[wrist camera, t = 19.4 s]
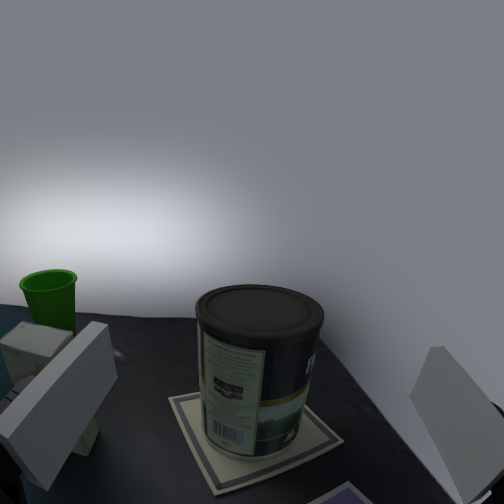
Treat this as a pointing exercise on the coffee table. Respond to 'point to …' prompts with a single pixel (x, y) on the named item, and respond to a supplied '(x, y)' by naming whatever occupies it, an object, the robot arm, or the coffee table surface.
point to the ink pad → (343, 496)
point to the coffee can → (255, 367)
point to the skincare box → (40, 363)
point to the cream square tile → (243, 471)
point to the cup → (51, 298)
